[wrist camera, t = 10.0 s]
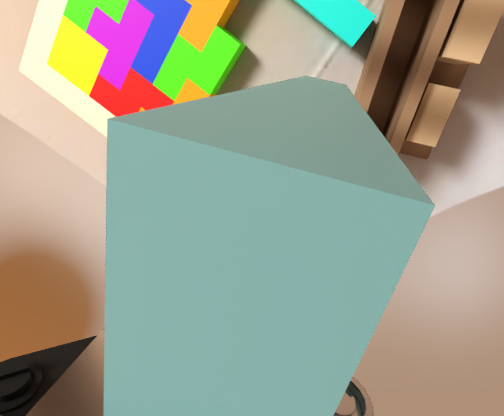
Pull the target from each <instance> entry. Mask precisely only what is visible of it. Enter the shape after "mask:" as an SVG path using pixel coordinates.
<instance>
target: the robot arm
mask: <svg viewBox="0 0 504 416" xmlns="http://www.w3.org/2000/svg"><path fill="white" fill-rule="evenodd" d="M104 338H105V328H104V329H103V330H102V331H101V332H100V333H99V334H98V335H97V336H93V337H90V338H86V339H82V340H78V341H75V342H71V343H67V344H63V345H60V346H56V347H52V348H48V349H45V350H41V351H37V352H33V353H30V354H26V355H22V356H18V357H15V358H11V359H8V360H5V361H3V362H0V416H103V414H104ZM333 416H374V410H373V405H372V402H371V398H370V396H369V395H368V393H367V391H366V389H365V388H364V387H363V386H362V385H361V383H360V382H359V381H358V380H357V379H355V378H354V377H353V376H352V378H351V380H350V382H349V384H348V387H347V389H346V391H345V393H344V395H343V397H342V399H341V401H340V403H339V405H338V407H337V409H336V411H335V413H334V415H333Z"/></svg>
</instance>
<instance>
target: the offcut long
mask: <svg viewBox="0 0 504 416" xmlns="http://www.w3.org/2000/svg"><path fill="white" fill-rule="evenodd" d="M503 11H504V0H460V2H459V4H458V7H457V9H456V12H455V14H454V17H453V19H452V22H451V24H450V27H449V29H448V32H447V34H446V37H445V39H444V42H443V44H442V47H441V49H440V52H439V54H438V57H437V59H436V61H440V62H444V63H449V64H454V65H458V64H480V62H481V60H482V58H483V55H484V53H485V51H486V49H487V47H488V44H489V42H490V40H491V38H492V36H493V33H494V31H495V29H496V27H497V25H498V22H499V20H500V18H501V16H502V14H503Z"/></svg>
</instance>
